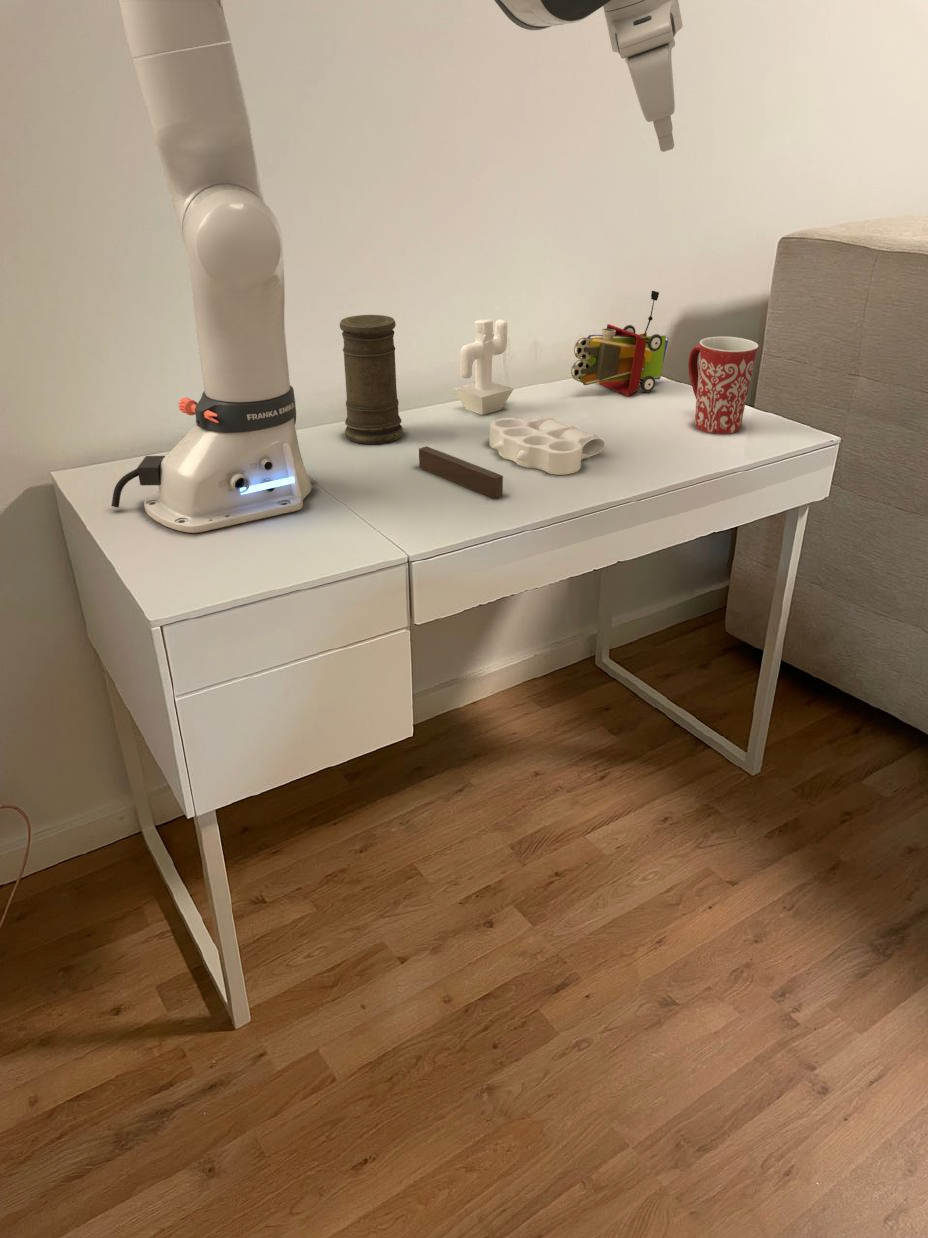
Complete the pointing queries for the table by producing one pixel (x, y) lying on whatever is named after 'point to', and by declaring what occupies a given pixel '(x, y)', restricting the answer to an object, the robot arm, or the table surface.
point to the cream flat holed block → (543, 444)
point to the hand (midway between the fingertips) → (667, 140)
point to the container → (370, 379)
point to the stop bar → (461, 472)
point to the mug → (721, 382)
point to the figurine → (483, 369)
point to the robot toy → (621, 358)
